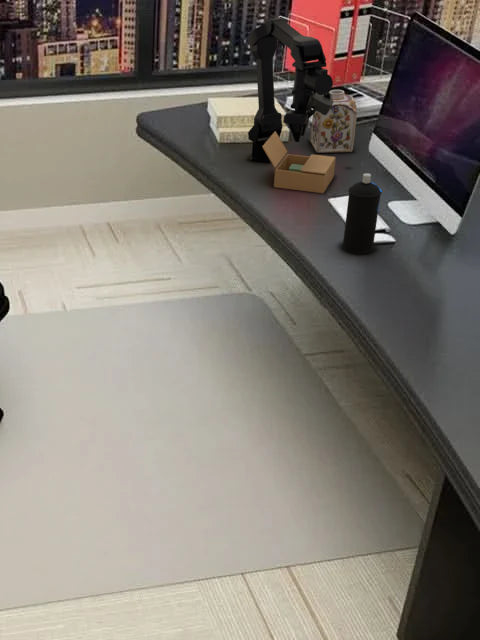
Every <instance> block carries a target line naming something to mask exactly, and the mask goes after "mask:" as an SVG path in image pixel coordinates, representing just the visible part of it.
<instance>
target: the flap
mask: <svg viewBox="0 0 480 640" xmlns="http://www.w3.org/2000/svg"><path fill="white" fill-rule="evenodd" d="M262 147H263V149H264V151H265V152H266V154H267V156H268V157H269V159H270V161H271V162H270V163H271V164H272V166H273V167H274V168H275V169H276V168H277V167H278V165H279V164H280V163H281V161H282V160H283V159H284V157H285V156H286V155H287V154H288V150H287V148H286V147H285V145H284V143H283V141H282V139H281V137H280V138H279V136H278V135H277V133H276V131H275V132H274V133H273V134H272V136H271V137H270V138H269V139H268V140H267V142H266V143H265V144H264V145H263V146H262Z"/></svg>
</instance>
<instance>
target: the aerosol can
mask: <svg viewBox="0 0 480 640" xmlns="http://www.w3.org/2000/svg"><path fill="white" fill-rule="evenodd" d="M371 179H372V173H363V174H362V179H361V181H359V182H356V183H354V184H352V186H350V187H349V188H348V189H347V191H348V198H347V208H346V216H345V224H344V234H343V241H342V243H341V248H342V250H344V251H345V252H347V253H350V254H353V255H365V254H370V253H371V252H373V251H374V250H375V237H376V230H377V223H378V215H379V208H380V201H381V195H382V193H383V190H382V189H381V188H380V187H379V185H377V184H376V183H375V182H372V181H371Z"/></svg>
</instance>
